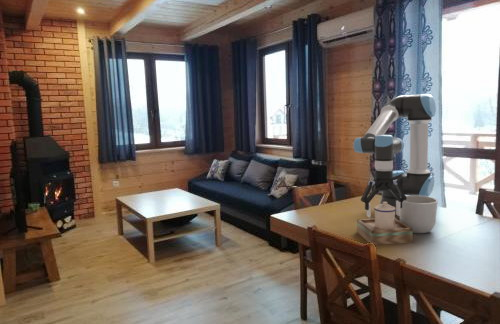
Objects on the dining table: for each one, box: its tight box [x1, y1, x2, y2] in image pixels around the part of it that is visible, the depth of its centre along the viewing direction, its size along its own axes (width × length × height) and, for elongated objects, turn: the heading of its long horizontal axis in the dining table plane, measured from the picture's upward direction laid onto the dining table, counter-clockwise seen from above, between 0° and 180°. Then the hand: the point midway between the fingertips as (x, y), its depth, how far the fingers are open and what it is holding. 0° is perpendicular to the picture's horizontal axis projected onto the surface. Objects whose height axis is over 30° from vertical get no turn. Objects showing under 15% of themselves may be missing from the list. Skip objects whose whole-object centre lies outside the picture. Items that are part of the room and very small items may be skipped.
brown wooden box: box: [356, 217, 413, 246], centre depth 171 cm, size 18×18×6 cm
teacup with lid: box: [373, 202, 396, 229], centre depth 170 cm, size 12×9×12 cm
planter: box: [398, 195, 439, 234], centre depth 178 cm, size 17×17×15 cm
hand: (383, 216), depth 170 cm, fingers open, 13 cm apart
